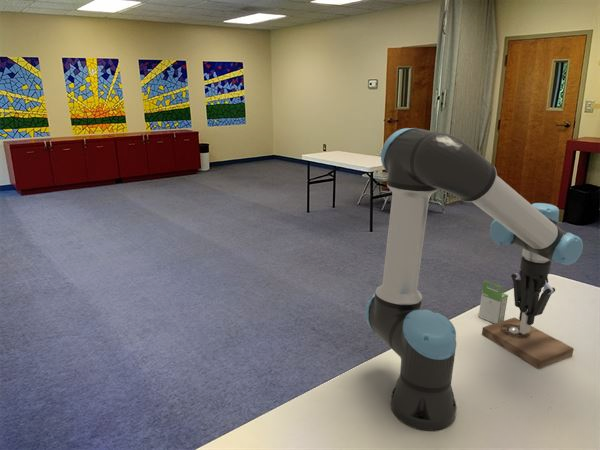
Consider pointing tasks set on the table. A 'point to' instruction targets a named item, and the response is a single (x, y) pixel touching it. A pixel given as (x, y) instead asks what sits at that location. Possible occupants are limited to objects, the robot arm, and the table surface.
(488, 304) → the ink box
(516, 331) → the ball
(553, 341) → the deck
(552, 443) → the table surface
